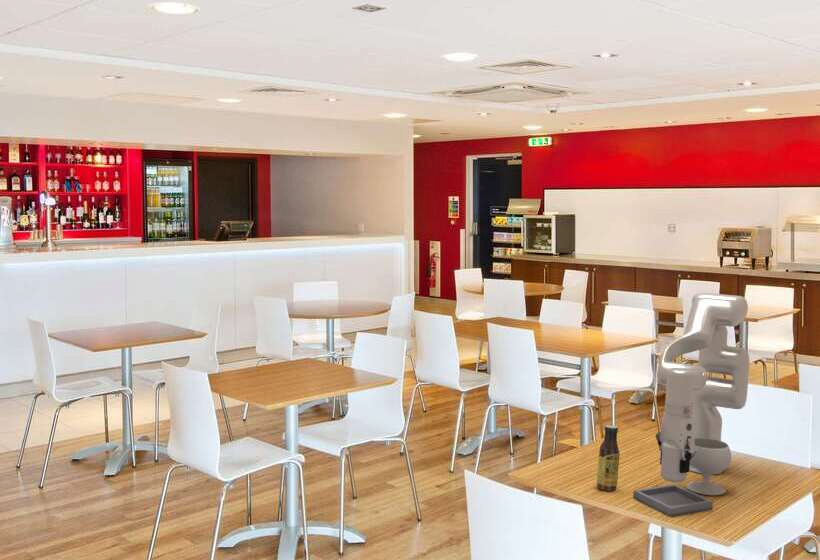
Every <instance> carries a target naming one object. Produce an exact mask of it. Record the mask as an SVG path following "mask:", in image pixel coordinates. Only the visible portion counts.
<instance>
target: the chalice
mask: <svg viewBox="0 0 820 560" xmlns="http://www.w3.org/2000/svg"><path fill="white" fill-rule="evenodd" d="M694 444H695V446H696V447H697V449H698V451H697V452H696V454H695V455H694V456H693V457H692V459H690V465H691V466H692V467H693V468H695V469H697V470H698V471H699V472H700V473H699V474H701V476H702V481H691V482H687V483H685V485H684V488H685V489H686V490H689V491H691V492H693V493H695V494H698V495H700V494H701V495H705V496H706V495H707V496H721V495H724V494H726V492H727V490H726V488H725V487H723V486H721V485H719V484H715V483H714V482H710V478H711V476H712V475H715V474H714V473H716V472H718V471H721V470H726V469H727V468H728V467H729V466H730V465H731V463H732V452H731V449H730V446H729V445H728V443H726V442H724V441H722V440H721V441H719V440H715V439H709V438H695V441H694Z"/></svg>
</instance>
